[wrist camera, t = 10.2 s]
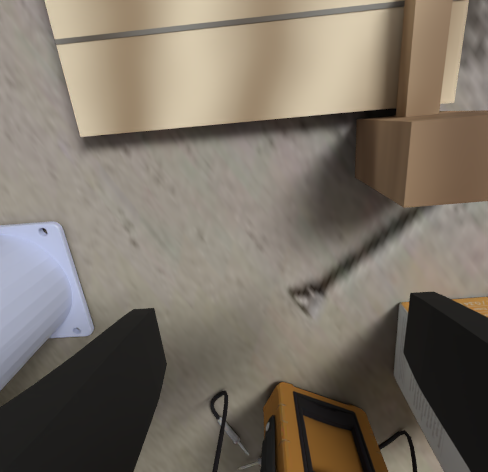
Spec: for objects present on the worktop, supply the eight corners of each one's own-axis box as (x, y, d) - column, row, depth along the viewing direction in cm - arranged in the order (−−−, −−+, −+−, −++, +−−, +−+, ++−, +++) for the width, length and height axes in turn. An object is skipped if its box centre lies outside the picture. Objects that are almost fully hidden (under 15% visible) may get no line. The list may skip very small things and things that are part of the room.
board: (91, 135, 17) (80, 137, 16) (41, -69, 14) (21, -85, 12) (439, 103, 16) (454, 102, 14) (469, -125, 13) (490, -149, 11)
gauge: (354, 177, 17) (403, 207, 12) (360, 2, 14) (429, -69, 9) (429, 170, 17) (516, 198, 11) (451, -8, 14) (582, -89, 8)
